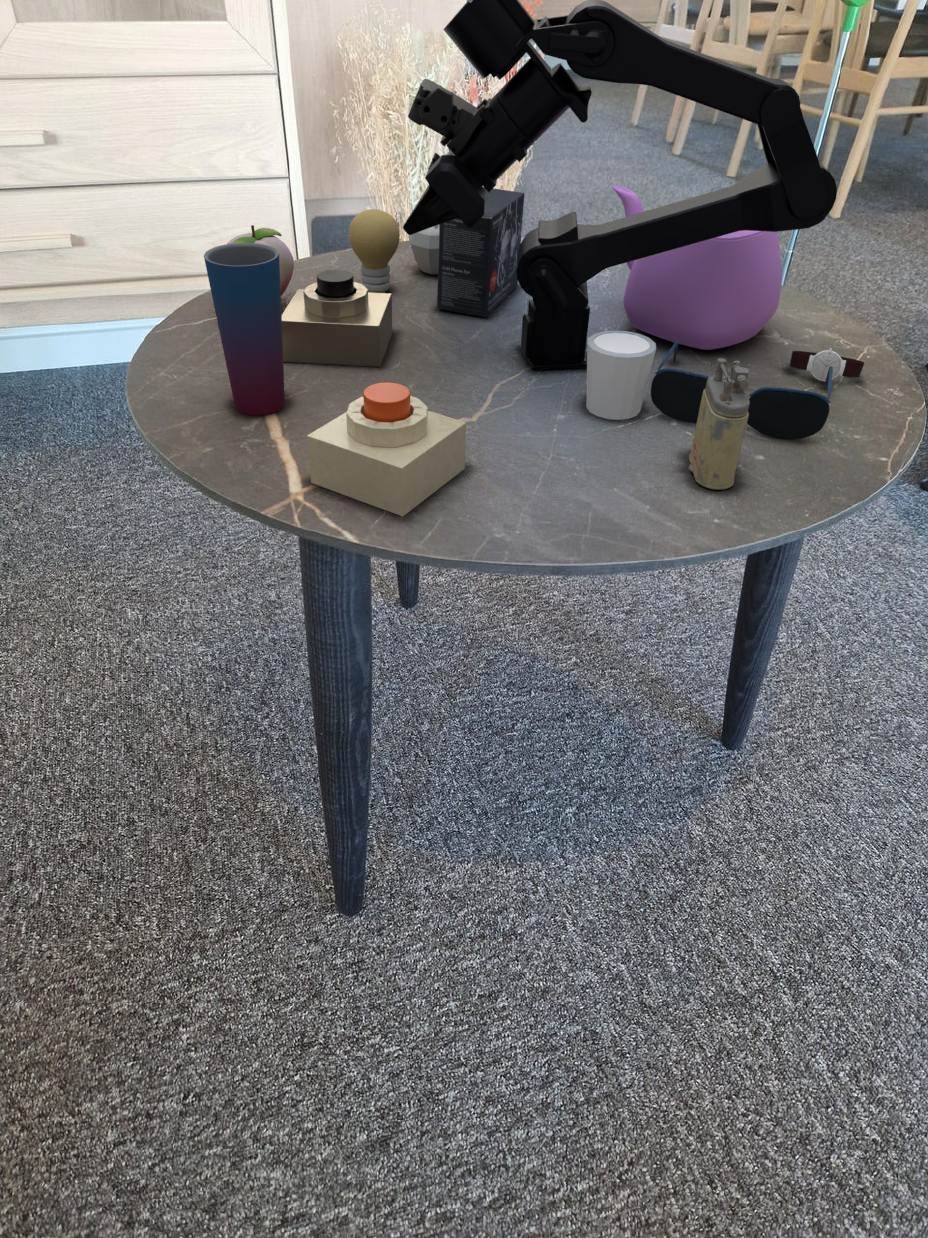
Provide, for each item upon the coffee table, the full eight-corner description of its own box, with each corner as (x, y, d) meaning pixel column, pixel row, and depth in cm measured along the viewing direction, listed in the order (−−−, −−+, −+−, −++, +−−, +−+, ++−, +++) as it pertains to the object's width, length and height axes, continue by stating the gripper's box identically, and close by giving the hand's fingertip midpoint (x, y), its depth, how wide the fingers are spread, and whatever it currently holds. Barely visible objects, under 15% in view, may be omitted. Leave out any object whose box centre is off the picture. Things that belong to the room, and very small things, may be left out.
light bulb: (342, 294, 120) (338, 212, 114) (365, 279, 125) (362, 200, 119) (387, 302, 118) (385, 219, 112) (408, 286, 123) (407, 206, 117)
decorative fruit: (249, 292, 120) (239, 210, 114) (306, 300, 118) (299, 218, 112) (210, 316, 113) (197, 231, 107) (270, 326, 111) (261, 240, 105)
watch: (785, 377, 103) (793, 346, 101) (789, 361, 107) (797, 330, 105) (858, 389, 101) (868, 357, 99) (859, 372, 105) (869, 341, 103)
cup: (279, 423, 92) (263, 268, 82) (215, 415, 93) (191, 262, 83) (302, 394, 97) (289, 245, 88) (241, 387, 98) (221, 239, 89)
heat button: (356, 288, 105) (356, 270, 103) (350, 301, 102) (349, 282, 100) (321, 286, 105) (320, 268, 104) (314, 299, 102) (313, 280, 100)
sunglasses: (645, 414, 95) (654, 366, 93) (668, 377, 107) (676, 333, 105) (819, 446, 91) (833, 396, 88) (823, 403, 103) (836, 358, 100)
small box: (487, 319, 115) (491, 217, 107) (435, 310, 117) (436, 210, 109) (519, 285, 125) (525, 190, 117) (471, 278, 126) (474, 183, 119)
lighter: (736, 492, 84) (761, 388, 77) (693, 490, 84) (715, 386, 77) (722, 453, 89) (745, 353, 83) (683, 451, 89) (702, 352, 83)
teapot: (805, 322, 117) (839, 193, 107) (717, 369, 104) (746, 230, 95) (654, 276, 129) (672, 158, 119) (559, 315, 116) (570, 186, 107)
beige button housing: (377, 439, 90) (374, 375, 86) (465, 468, 86) (466, 403, 82) (310, 482, 83) (304, 416, 79) (402, 517, 79) (401, 448, 75)
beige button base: (392, 332, 111) (391, 277, 107) (380, 367, 103) (378, 309, 99) (301, 327, 111) (296, 272, 107) (282, 361, 103) (276, 303, 99)
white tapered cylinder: (604, 427, 93) (613, 360, 88) (567, 400, 98) (573, 335, 93) (659, 414, 95) (671, 349, 91) (621, 388, 100) (630, 324, 96)
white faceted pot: (456, 283, 125) (458, 232, 121) (400, 277, 126) (399, 226, 122) (470, 264, 131) (471, 215, 127) (416, 258, 132) (416, 210, 128)
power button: (382, 399, 83) (381, 378, 81) (419, 411, 81) (419, 389, 80) (354, 416, 80) (353, 394, 79) (392, 429, 78) (392, 406, 77)
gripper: (465, 35, 95) (364, 149, 102) (450, 63, 80) (332, 194, 88) (537, 123, 100) (435, 227, 107) (535, 165, 85) (416, 282, 92)
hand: (406, 230), depth 98 cm, fingers closed
